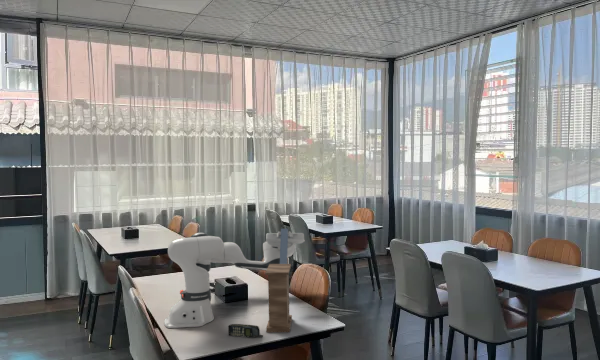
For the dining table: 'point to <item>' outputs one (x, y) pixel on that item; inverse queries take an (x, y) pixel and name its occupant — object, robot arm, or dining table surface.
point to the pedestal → (278, 298)
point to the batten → (284, 246)
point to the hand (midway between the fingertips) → (284, 232)
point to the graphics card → (212, 287)
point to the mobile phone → (244, 330)
